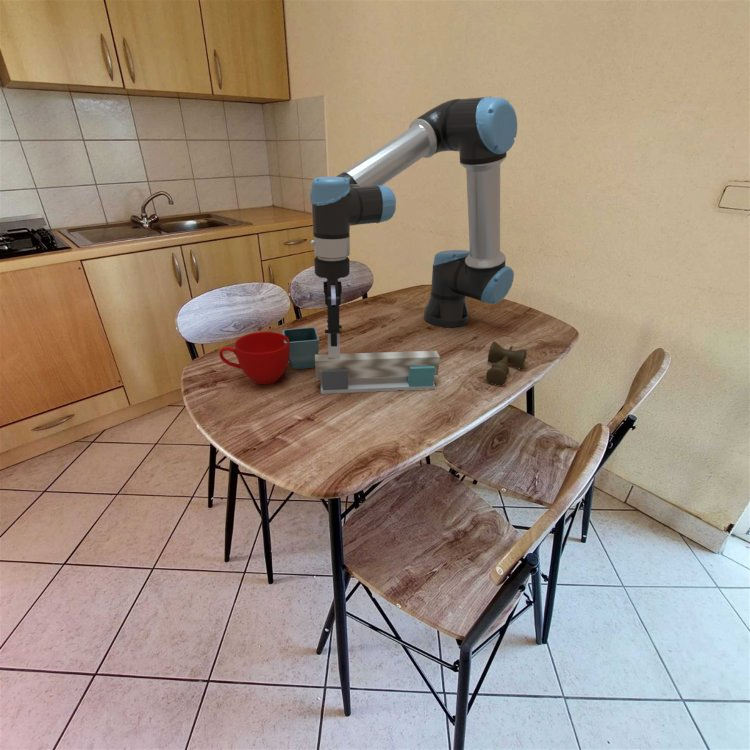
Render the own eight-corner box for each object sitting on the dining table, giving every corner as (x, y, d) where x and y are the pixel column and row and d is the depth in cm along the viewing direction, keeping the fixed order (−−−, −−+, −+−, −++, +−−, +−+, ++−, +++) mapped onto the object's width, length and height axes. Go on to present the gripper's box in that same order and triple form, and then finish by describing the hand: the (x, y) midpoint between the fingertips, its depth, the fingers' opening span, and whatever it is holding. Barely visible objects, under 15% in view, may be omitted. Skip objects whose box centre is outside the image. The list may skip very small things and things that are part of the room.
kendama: (475, 383, 112) (493, 351, 127) (512, 393, 108) (526, 359, 124) (478, 362, 109) (496, 333, 124) (517, 372, 105) (531, 340, 121)
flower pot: (287, 374, 113) (284, 342, 108) (285, 359, 120) (282, 329, 116) (321, 370, 114) (319, 339, 110) (316, 356, 122) (315, 326, 118)
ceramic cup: (227, 368, 115) (222, 332, 110) (292, 365, 117) (290, 330, 112) (219, 393, 103) (212, 355, 99) (291, 389, 106) (288, 352, 101)
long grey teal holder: (428, 375, 113) (430, 355, 111) (434, 389, 107) (437, 367, 104) (320, 379, 110) (319, 358, 107) (320, 393, 104) (319, 371, 101)
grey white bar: (434, 368, 111) (436, 350, 108) (438, 375, 108) (439, 356, 105) (315, 372, 107) (315, 354, 105) (315, 379, 104) (315, 361, 102)
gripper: (314, 249, 98) (318, 345, 109) (313, 264, 86) (318, 369, 98) (347, 249, 99) (348, 344, 110) (351, 264, 87) (351, 368, 98)
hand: (333, 356), depth 104 cm, fingers closed
